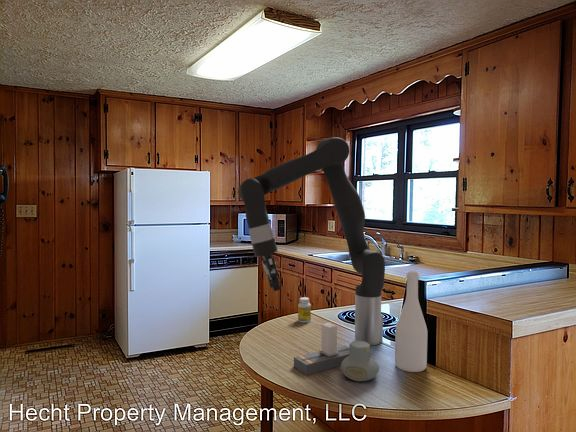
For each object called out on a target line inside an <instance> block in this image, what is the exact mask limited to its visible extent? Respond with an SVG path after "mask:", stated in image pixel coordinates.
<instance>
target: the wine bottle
mask: <svg viewBox="0 0 576 432" xmlns="http://www.w3.org/2000/svg"><path fill="white" fill-rule="evenodd" d="M419 278H420V273H419V272H418V271H417V270H408V271H407V272H406V279H407V280H406V296H405V301H404V304H403V307H402V309H401V312H400V314H399V316H398V320H397V323H396V326H395V331H394V333H395V337H394V339H395V341H394V342H395V343H394V364H395V367H397V368H398V369H400V370H401V371H405V372H408V373H421V372H423V371H425V370H426V369H427V365H428V328H427V324H426V321H425V318H424V314H423V311H422V308H421V305H420V304H421V303H420V302H419Z"/></svg>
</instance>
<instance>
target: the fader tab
mask: <svg viewBox="0 0 576 432" xmlns="http://www.w3.org/2000/svg"><path fill="white" fill-rule="evenodd" d="M337 347H338V325H336V324H333V323H332V322H326V323H322V324H321V348H320V349H319V350H318V351H319V352H321V353H323V354H325V355H326V356H328V357H330V356H334V355H338V354H339V352H337Z"/></svg>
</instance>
